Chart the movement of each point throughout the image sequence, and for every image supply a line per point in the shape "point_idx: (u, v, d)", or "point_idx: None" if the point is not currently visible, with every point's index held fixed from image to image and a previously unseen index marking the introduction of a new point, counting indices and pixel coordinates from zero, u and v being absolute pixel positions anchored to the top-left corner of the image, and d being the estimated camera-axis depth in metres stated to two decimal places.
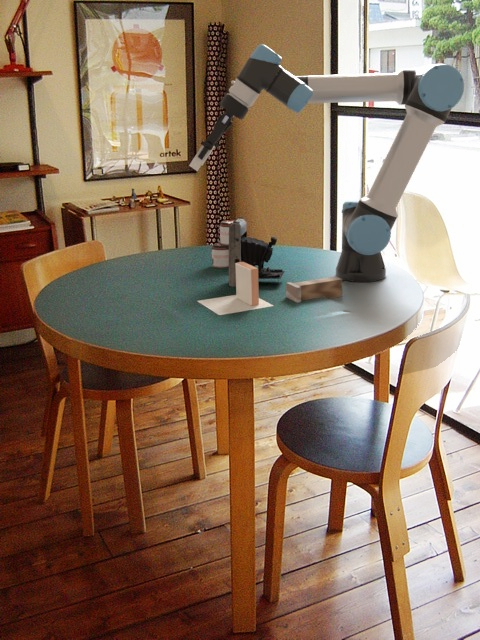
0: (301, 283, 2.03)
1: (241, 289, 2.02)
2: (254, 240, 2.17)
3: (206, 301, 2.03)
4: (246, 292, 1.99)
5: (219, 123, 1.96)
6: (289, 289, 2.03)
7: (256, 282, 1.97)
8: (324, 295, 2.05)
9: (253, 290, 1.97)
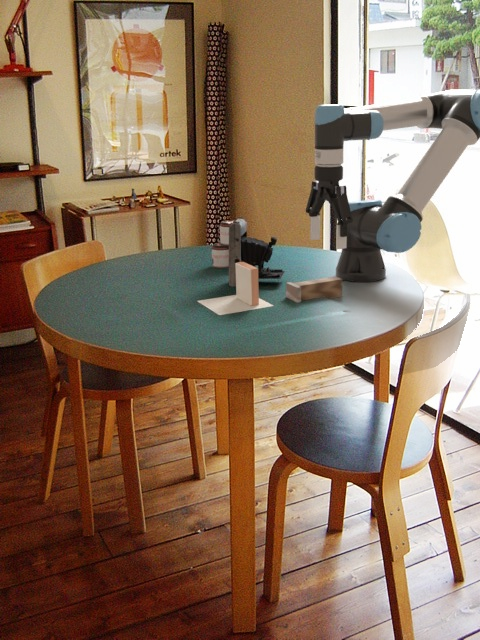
0: (301, 283, 2.03)
1: (241, 289, 2.02)
2: (254, 240, 2.17)
3: (206, 301, 2.03)
4: (246, 292, 1.99)
5: (340, 196, 1.93)
6: (289, 289, 2.03)
7: (256, 282, 1.97)
8: (324, 295, 2.05)
9: (253, 290, 1.97)
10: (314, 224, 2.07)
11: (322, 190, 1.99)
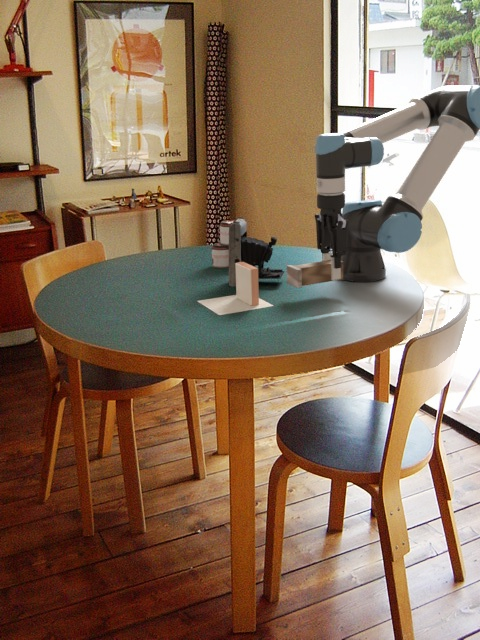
0: (302, 266, 2.02)
1: (241, 289, 2.02)
2: (254, 240, 2.17)
3: (206, 301, 2.03)
4: (246, 292, 1.99)
5: (340, 231, 1.97)
6: (290, 271, 2.01)
7: (256, 282, 1.97)
8: (325, 278, 2.04)
9: (253, 290, 1.97)
10: None
11: (325, 216, 2.01)
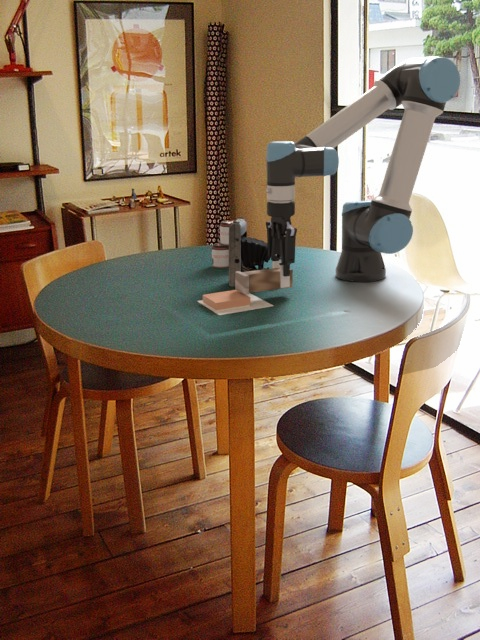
0: (250, 272, 2.01)
1: None
2: (254, 240, 2.17)
3: None
4: None
5: (289, 239, 1.96)
6: (238, 277, 2.01)
7: (229, 302, 1.95)
8: (273, 285, 2.03)
9: (235, 305, 1.96)
10: None
11: (275, 224, 2.01)
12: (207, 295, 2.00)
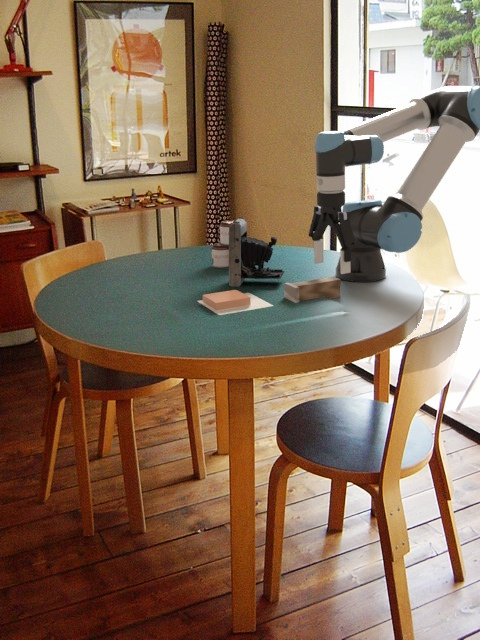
0: (299, 283, 2.03)
1: None
2: (254, 240, 2.17)
3: None
4: None
5: (343, 223, 1.95)
6: (288, 289, 2.02)
7: (229, 302, 1.95)
8: (322, 295, 2.05)
9: (235, 305, 1.96)
10: (317, 248, 2.10)
11: (325, 215, 2.01)
12: (207, 295, 2.00)
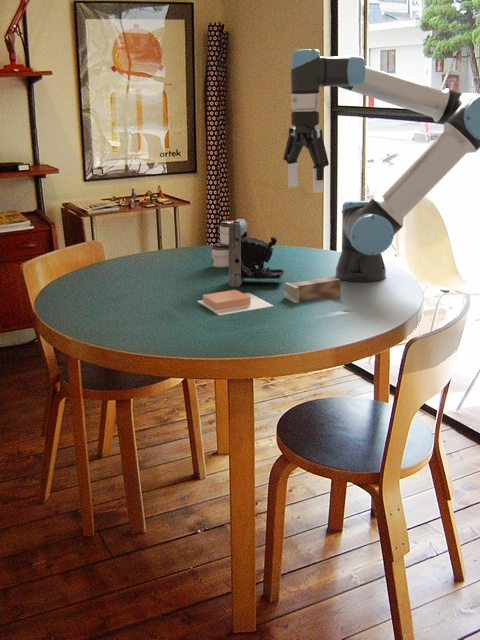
0: (299, 283, 2.03)
1: None
2: (254, 240, 2.17)
3: None
4: None
5: (316, 140, 1.96)
6: (288, 289, 2.02)
7: (229, 302, 1.95)
8: (322, 295, 2.05)
9: (235, 305, 1.96)
10: (292, 171, 2.11)
11: (299, 135, 2.02)
12: (207, 295, 2.00)
